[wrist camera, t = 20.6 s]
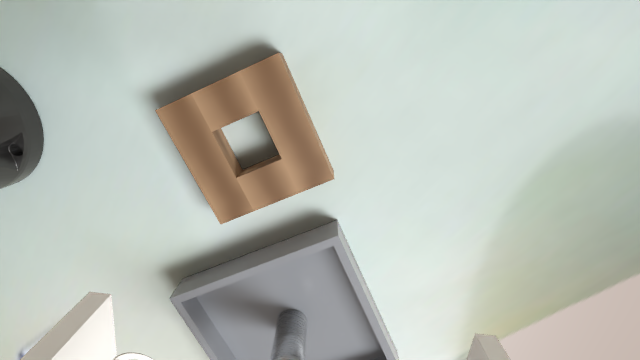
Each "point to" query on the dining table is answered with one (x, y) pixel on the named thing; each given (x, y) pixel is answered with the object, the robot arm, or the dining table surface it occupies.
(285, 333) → the lock pin
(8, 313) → the dining table surface
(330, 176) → the socket block
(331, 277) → the tray
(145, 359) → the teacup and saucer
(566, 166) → the dining table surface
